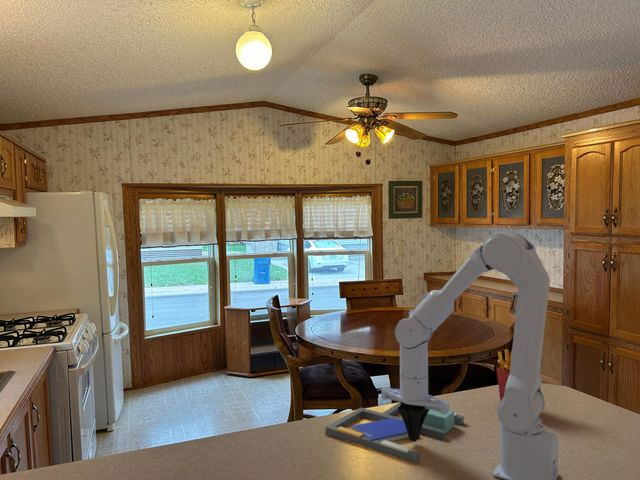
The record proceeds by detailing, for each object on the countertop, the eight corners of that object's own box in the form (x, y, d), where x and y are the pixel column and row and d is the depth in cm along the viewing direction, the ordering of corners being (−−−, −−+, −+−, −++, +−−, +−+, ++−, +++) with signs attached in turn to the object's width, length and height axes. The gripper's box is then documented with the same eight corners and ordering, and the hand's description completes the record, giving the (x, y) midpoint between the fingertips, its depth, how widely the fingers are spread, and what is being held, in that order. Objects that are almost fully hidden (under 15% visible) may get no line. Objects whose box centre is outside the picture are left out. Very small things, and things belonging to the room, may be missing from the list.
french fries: (515, 416, 113) (515, 353, 113) (490, 404, 121) (490, 345, 121) (543, 410, 117) (543, 349, 116) (517, 399, 124) (518, 342, 124)
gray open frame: (446, 437, 103) (446, 428, 103) (416, 463, 92) (416, 454, 92) (360, 413, 116) (360, 405, 116) (325, 433, 105) (325, 425, 105)
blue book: (370, 439, 98) (419, 428, 104) (351, 424, 106) (398, 415, 111) (370, 446, 98) (419, 436, 104) (351, 431, 106) (398, 422, 111)
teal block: (454, 426, 109) (454, 410, 108) (445, 433, 105) (445, 418, 104) (429, 419, 112) (429, 404, 112) (420, 427, 108) (420, 411, 108)
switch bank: (463, 422, 110) (463, 414, 110) (446, 437, 103) (446, 428, 103) (401, 407, 120) (401, 399, 120) (382, 419, 113) (382, 411, 113)
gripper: (455, 376, 98) (455, 442, 98) (392, 364, 107) (393, 424, 107) (440, 385, 92) (440, 455, 93) (376, 372, 101) (376, 435, 102)
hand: (414, 439), depth 100 cm, fingers closed
